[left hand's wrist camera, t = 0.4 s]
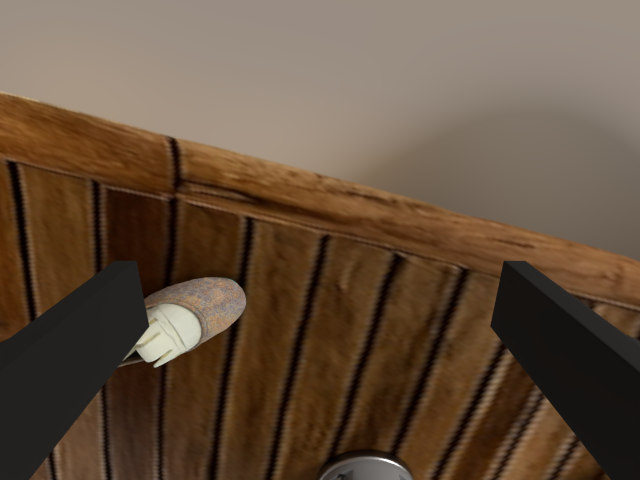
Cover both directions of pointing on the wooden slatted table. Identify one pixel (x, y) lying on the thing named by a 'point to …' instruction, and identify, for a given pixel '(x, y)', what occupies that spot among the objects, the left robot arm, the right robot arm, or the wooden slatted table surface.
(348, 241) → the wooden slatted table surface
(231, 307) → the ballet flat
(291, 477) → the wooden slatted table surface
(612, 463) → the left robot arm
